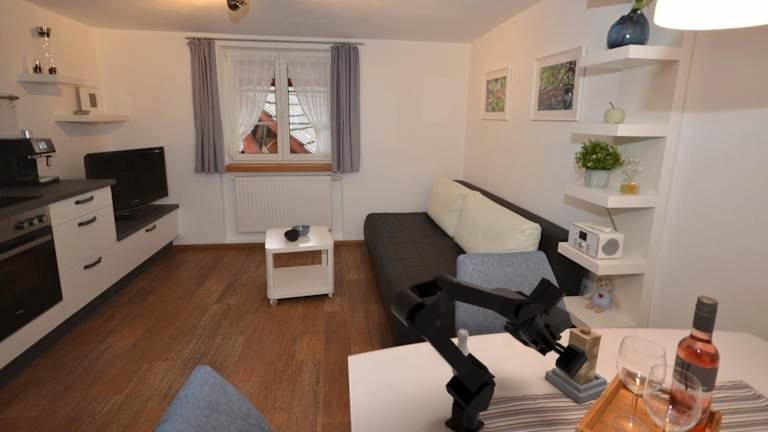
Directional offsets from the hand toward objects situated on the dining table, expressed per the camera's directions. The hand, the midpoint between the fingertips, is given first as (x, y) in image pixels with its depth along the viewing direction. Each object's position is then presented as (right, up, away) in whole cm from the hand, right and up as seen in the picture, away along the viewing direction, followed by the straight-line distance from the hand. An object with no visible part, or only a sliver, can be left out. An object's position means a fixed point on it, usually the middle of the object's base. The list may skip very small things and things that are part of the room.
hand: (561, 360), depth 103 cm
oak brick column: (+6, -6, +5) cm, 10 cm away
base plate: (+6, -8, +5) cm, 12 cm away
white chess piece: (-21, -5, +17) cm, 27 cm away
